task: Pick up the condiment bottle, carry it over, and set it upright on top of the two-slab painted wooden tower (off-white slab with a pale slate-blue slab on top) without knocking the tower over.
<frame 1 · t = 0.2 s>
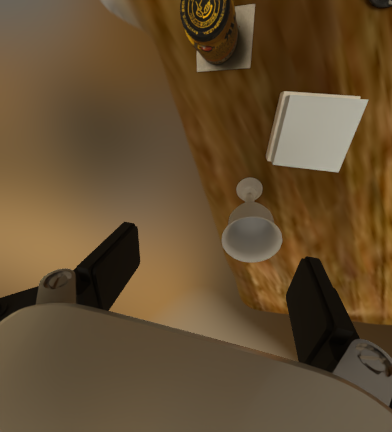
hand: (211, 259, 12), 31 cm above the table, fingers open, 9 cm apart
chalice: (249, 189, 41), on the table
tower base: (302, 129, 34), on the table, touching tower top
condiment: (223, 41, 31), on the table
tower top: (308, 132, 31), point 4 cm above the table, touching tower base
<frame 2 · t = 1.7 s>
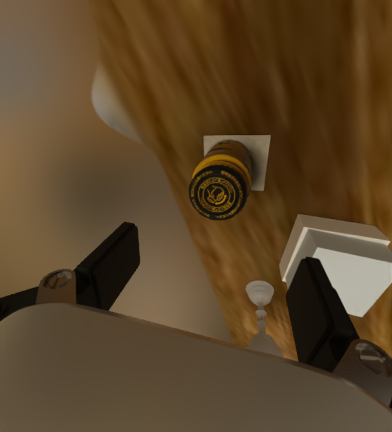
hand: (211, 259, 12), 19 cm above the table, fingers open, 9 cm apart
chalice: (259, 289, 38), on the table
tower base: (321, 245, 31), on the table, touching tower top
condiment: (234, 163, 28), on the table
tower top: (329, 262, 28), point 4 cm above the table, touching tower base
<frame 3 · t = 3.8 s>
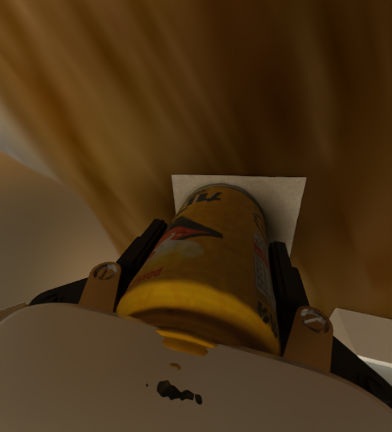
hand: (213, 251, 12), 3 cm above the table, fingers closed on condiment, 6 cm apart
tower base: (372, 352, 18), on the table
condiment: (232, 222, 15), on the table, touching gripper
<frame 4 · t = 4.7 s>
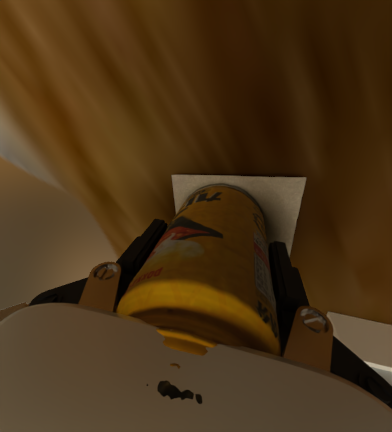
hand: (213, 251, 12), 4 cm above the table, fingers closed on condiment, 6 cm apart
tower base: (364, 355, 19), on the table, touching tower top
condiment: (232, 222, 15), on the table, touching gripper
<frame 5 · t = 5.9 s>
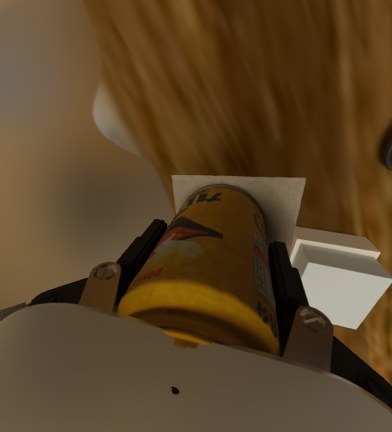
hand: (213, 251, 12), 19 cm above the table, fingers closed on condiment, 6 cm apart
tower base: (315, 256, 32), on the table
condiment: (232, 222, 15), point 15 cm above the table, touching gripper
tower top: (322, 275, 29), point 4 cm above the table
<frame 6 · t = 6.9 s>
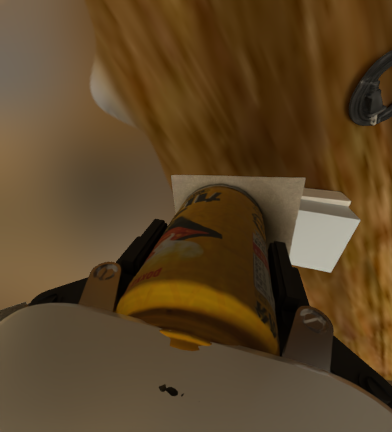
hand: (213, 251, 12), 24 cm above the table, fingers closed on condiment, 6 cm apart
tower base: (297, 214, 35), on the table, touching tower top
condiment: (232, 222, 15), point 20 cm above the table, touching gripper
tower top: (302, 227, 32), point 4 cm above the table, touching tower base
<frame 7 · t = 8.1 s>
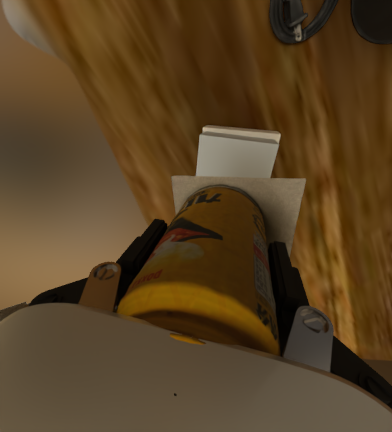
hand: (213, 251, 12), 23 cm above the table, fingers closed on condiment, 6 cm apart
tower base: (236, 162, 32), on the table, touching tower top
condiment: (232, 223, 15), point 19 cm above the table, touching gripper
tower top: (233, 168, 29), point 4 cm above the table, touching tower base
when the fingers open (12 cm above the table, at t = 10.7 s): condiment drops 1 cm, resting on tower top.
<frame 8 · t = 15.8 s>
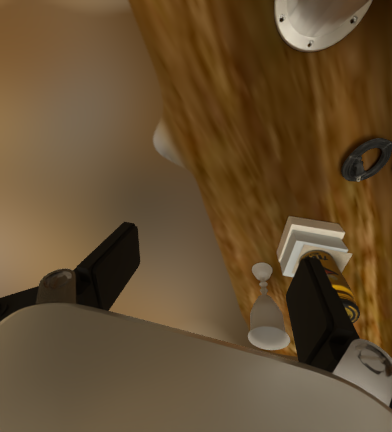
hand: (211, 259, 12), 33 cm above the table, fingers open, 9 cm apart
chalice: (261, 269, 53), on the table
tower base: (304, 237, 46), on the table, touching tower top
condiment: (319, 262, 40), point 7 cm above the table, touching tower top
tower top: (307, 250, 43), point 3 cm above the table, touching condiment, tower base
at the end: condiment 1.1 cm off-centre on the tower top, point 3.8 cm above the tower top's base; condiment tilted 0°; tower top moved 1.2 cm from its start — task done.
